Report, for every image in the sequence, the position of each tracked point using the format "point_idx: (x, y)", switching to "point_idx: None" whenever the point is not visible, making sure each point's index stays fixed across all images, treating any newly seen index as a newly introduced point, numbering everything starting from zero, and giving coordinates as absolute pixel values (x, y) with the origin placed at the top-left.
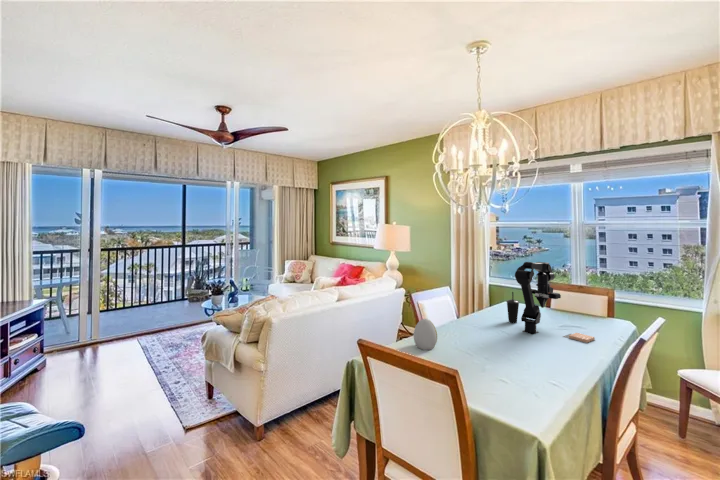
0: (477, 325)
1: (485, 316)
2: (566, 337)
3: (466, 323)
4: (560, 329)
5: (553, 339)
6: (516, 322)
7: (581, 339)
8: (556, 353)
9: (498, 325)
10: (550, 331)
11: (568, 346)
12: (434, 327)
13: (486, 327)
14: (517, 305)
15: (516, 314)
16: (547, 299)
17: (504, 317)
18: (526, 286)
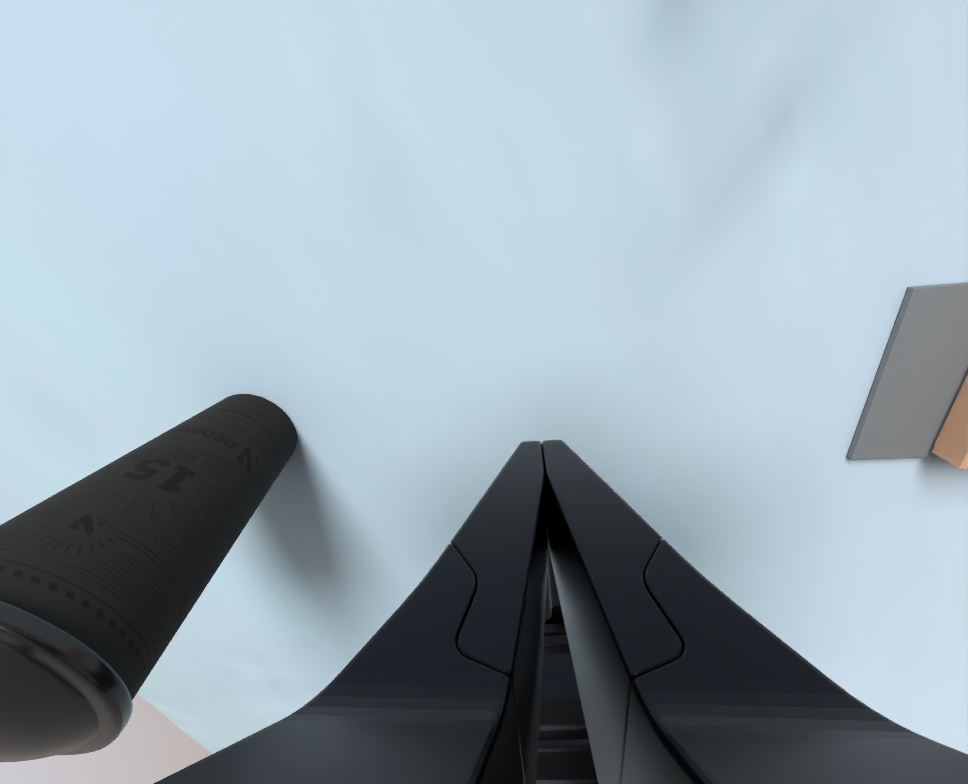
0: (263, 668)
1: (3, 476)
2: (896, 449)
3: (201, 682)
4: (735, 195)
5: (797, 555)
6: (290, 428)
7: None
8: (895, 721)
9: (307, 584)
10: (679, 385)
11: (947, 601)
12: None
13: (323, 661)
14: (148, 630)
15: (245, 505)
16: (876, 712)
17: (47, 348)
18: None
